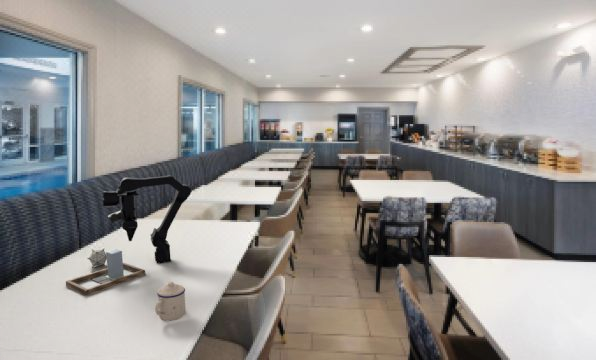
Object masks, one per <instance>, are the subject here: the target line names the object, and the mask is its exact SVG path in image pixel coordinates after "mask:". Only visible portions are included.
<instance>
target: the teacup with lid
mask: <svg viewBox="0 0 596 360" xmlns="http://www.w3.org/2000/svg"><path fill="white" fill-rule="evenodd" d="M185 292H186V288H185V286H184V285H182V284H176V283H174V281H169V282H167V284H166V285H164V286H161V287H160V288H159V289H158V290H157V293H156V294H157V298H158V302H157V303H156V304H155V306H154V310H155V314H156V315H158V316H159V318H160V319H161V320H164V321H175V320H178V319H180V318H182V317H184V316H185V315H186V313H187V311H186V297H185V296H186V295H185Z"/></svg>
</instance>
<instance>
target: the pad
mask: <svg viewBox="0 0 596 360" xmlns="http://www.w3.org/2000/svg"><path fill="white" fill-rule="evenodd" d="M126 275H127V274H124V276H126ZM104 277H106V278H108V279H111V280H115V279H117V278H115V279H113V278H111V277H108V275H105V276H104ZM121 277H123V276H121ZM118 278H120V277H118Z"/></svg>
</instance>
